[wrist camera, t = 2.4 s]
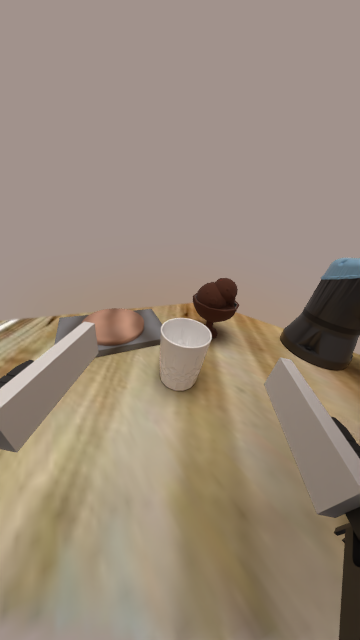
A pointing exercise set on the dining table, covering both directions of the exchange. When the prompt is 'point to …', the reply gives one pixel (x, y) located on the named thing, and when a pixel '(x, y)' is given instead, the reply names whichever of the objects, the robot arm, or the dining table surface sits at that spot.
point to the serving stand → (117, 329)
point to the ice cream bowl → (216, 302)
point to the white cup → (182, 352)
